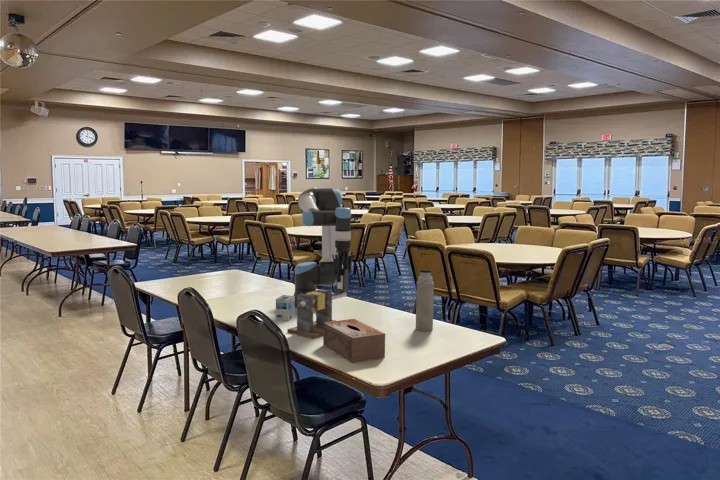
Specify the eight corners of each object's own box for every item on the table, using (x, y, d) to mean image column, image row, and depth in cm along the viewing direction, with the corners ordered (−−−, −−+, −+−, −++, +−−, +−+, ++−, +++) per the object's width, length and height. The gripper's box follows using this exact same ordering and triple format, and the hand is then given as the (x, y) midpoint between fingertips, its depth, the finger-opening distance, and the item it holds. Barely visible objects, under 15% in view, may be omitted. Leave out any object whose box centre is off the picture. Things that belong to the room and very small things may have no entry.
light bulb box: (288, 321, 271) (288, 299, 270) (275, 320, 272) (275, 298, 271) (295, 316, 281) (295, 295, 280) (282, 315, 283) (282, 294, 281)
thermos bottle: (417, 326, 265) (419, 268, 262) (434, 327, 262) (435, 269, 259) (413, 330, 258) (415, 270, 255) (430, 331, 255) (432, 271, 252)
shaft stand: (324, 321, 272) (325, 285, 270) (350, 326, 262) (350, 289, 260) (287, 332, 251) (287, 293, 249) (313, 338, 241) (314, 298, 240)
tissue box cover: (323, 345, 232) (323, 322, 231) (353, 341, 239) (353, 318, 238) (352, 363, 210) (352, 338, 209) (384, 358, 217) (385, 333, 216)
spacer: (313, 306, 257) (313, 291, 256) (325, 308, 253) (325, 293, 252) (306, 308, 253) (306, 293, 252) (317, 310, 249) (317, 295, 248)
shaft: (340, 296, 271) (340, 267, 270) (348, 297, 268) (348, 268, 267) (298, 306, 247) (298, 275, 246) (306, 308, 244) (306, 277, 243)
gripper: (347, 238, 274) (346, 284, 277) (325, 240, 261) (325, 289, 264) (359, 239, 270) (358, 286, 272) (338, 241, 257) (337, 291, 259)
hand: (342, 288), depth 268 cm, fingers closed on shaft, 3 cm apart
